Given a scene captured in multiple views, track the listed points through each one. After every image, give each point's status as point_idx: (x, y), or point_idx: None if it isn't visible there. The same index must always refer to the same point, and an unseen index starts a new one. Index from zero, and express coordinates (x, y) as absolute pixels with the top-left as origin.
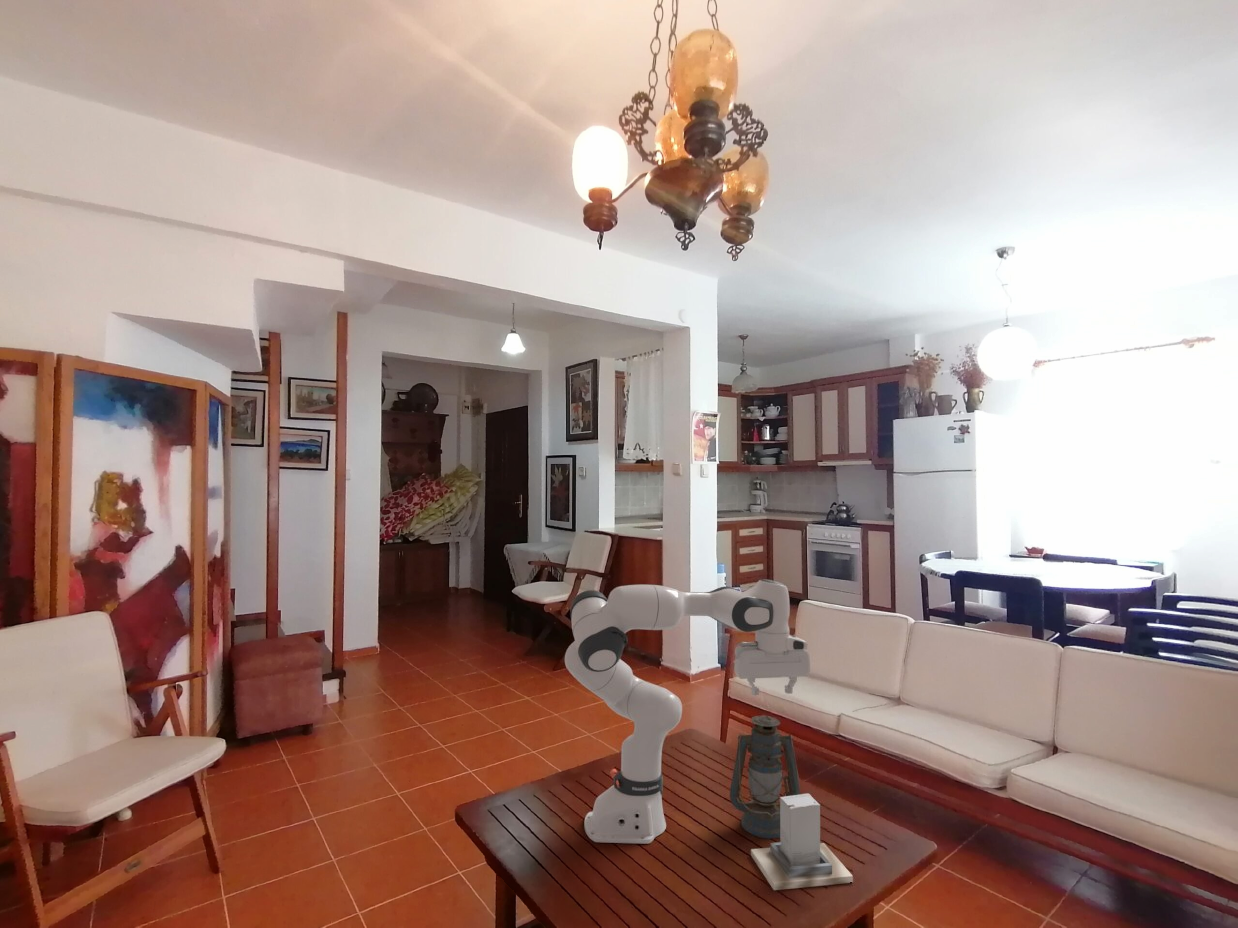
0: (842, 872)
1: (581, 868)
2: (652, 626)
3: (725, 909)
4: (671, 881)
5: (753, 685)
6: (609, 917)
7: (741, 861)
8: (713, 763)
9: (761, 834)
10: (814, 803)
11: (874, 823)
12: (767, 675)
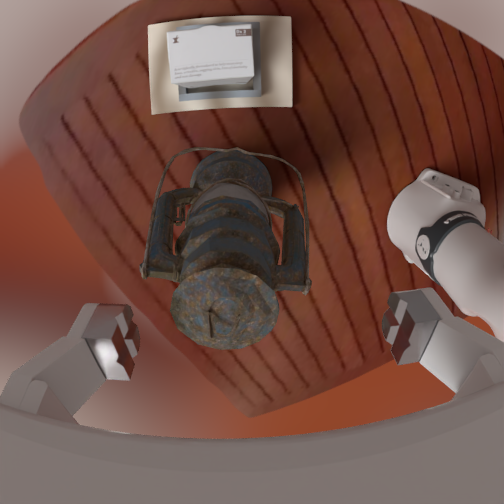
0: (160, 32)
1: (498, 140)
2: None
3: (373, 4)
4: (424, 78)
5: (472, 334)
6: (489, 50)
7: (313, 93)
8: (247, 360)
9: (251, 155)
10: (178, 36)
11: (54, 186)
12: (414, 441)
